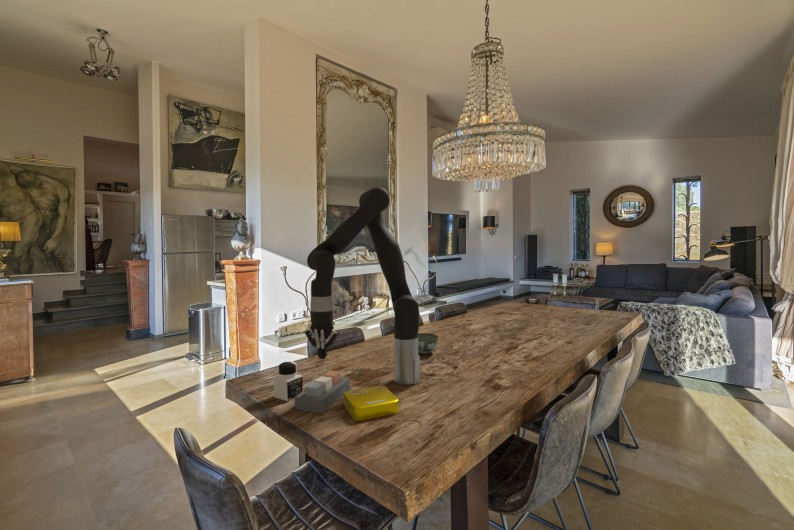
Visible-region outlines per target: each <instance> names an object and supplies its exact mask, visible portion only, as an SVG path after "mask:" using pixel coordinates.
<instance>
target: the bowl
mask: <svg viewBox="0 0 794 530" xmlns="http://www.w3.org/2000/svg"><path fill="white" fill-rule="evenodd" d="M438 339H439V336H438V335H436V334H434V333H428V332H427V333H426V332H422V333H418V355H430V354H431V353H432V351H434V350H435V349H436V348H437V345H438V341H439V340H438Z"/></svg>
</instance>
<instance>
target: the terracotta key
mask: <svg viewBox="0 0 794 530" xmlns="http://www.w3.org/2000/svg"><path fill="white" fill-rule="evenodd" d="M322 376H323V377H331V378H332V385H336V384H338V383H339V382H340V378H341V371H336V370H329V371H327V372H325V373H324V374H323V375H322Z"/></svg>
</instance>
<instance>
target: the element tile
mask: <svg viewBox="0 0 794 530" xmlns="http://www.w3.org/2000/svg"><path fill="white" fill-rule="evenodd" d="M399 400H400V399H399V398H398V397H397V396H396V395H395V394H394V393H393V392H391V390H390V389H388V388H387V387H386V386H385V385H375V386H374V385H373V386H369V387H365V388H358V389H350V390H349V391H346V392H345V393H344V395H343V406H344V407H345V409H346V410H347V412H348V413H349V414H350V416H351V417H352V418H353V419H354V420H355V421H357V422H359V421H366V420H370V419H375V418H379V417H380V418H381V417H385V416H390V415H394V414H397V412H398V411H399V410H400V408H399V407H400V406H399V405H400V401H399ZM399 412H400V411H399ZM399 412H398V413H399Z"/></svg>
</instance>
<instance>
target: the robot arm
mask: <svg viewBox="0 0 794 530" xmlns="http://www.w3.org/2000/svg"><path fill="white" fill-rule="evenodd" d="M390 201H391V198H390V194H389V192H388V191H387V190H386V189H385V188H383V187H379V186H378V187H377V186H376V187H371V189H368V190H366V191H365V192H363V193H362V194H360V196H359V199H358V204H359V208H357V210H356V211H355V212H354V213H352V214H351V215H350V216H349V217H348V218H347V219H346V220H344V221H343V222H341V224H340V225H339V226H337V227H336V228H335V229H334V231H333V232H332V233H331V234H330V235H329V236H328V238H326V239H325V240H324V241H322V242H320V244H318V245H317V246H315V248H313V249H312V250H311V251H310V253H309V254H308V256H307V259H306V264H307V266H308V268H309V269H311V270H313V271H315V272H316V273H315V278H313V279H312V280H311V281H310V282H311V283H310V302H309V303H310V305H309V306H310V307H309V308H310V323H311V324H310V328H308V330H306V331H304V335H305V336H306V337H307V339H308V342H310V344H311V345H312V347H316V348H317V357H318V359H319V360H325V359H326V358H327V356H328V348H330V347H331V346H333V345H334V343H335V342H336V340H337V339H338V338H339V336H340V332H338V331H336V330H335V328H334V327H335V326H334V325H333V323H334V303H333V289H332V288H333V287H332V286H333V285H332V284H333V280H334V275H335V270H336V259H335V258H336V257H335V256H336V255H339V254H342V253H343V252H344V251H345V250H346V248H348V246H349V245H350V244H351V243H353V241H354V239H355V238H356V237H357V236H359V234H360V233H361V232H362V231H363V229H364V228H365V227H367V228H368V232H369V233H370V237H371V241H372V243H373V246H374V250H375V253H376V258H377V261H378V263H379V267H380V270H381V271H382V274H383V276H384V278H385V282H386V283H387V285H388V289H389V294H390V297H391V304H392V309H393V310H392V311H393V313H394V330H393V346H394V349H393V350H394V351H393V357H394V361H393V362H394V364H393V365H394V382H395V383H397V384H399V385H406V386H407V385H417V383H418V382H420V381H419V380H421V378H420V377H421V375H420V374H421V373H420V372H421V369H420V368H421V367H420V366H421V365H420V360H421V358H420V357H421V356H420V354H419V353H418V334H419V330H420V307H419V303H418V302H417V300H416V299H415V298H414V297H413V295H412V293H411V290H410V287H409V285H408V283H407V277H406V268H405V263H404V262H405V261H404V257H403V254H402V250H401V247H400V244H399V242H398V240H397V239H396V238H395V236H394V235H393V234H392V232H391V231H390V230H389V228H388V227H387V225H386V223H385V221H384V218H383V217H384V216H383V212H384V211H385V210H387V208H388V207H389V206H390Z"/></svg>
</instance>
